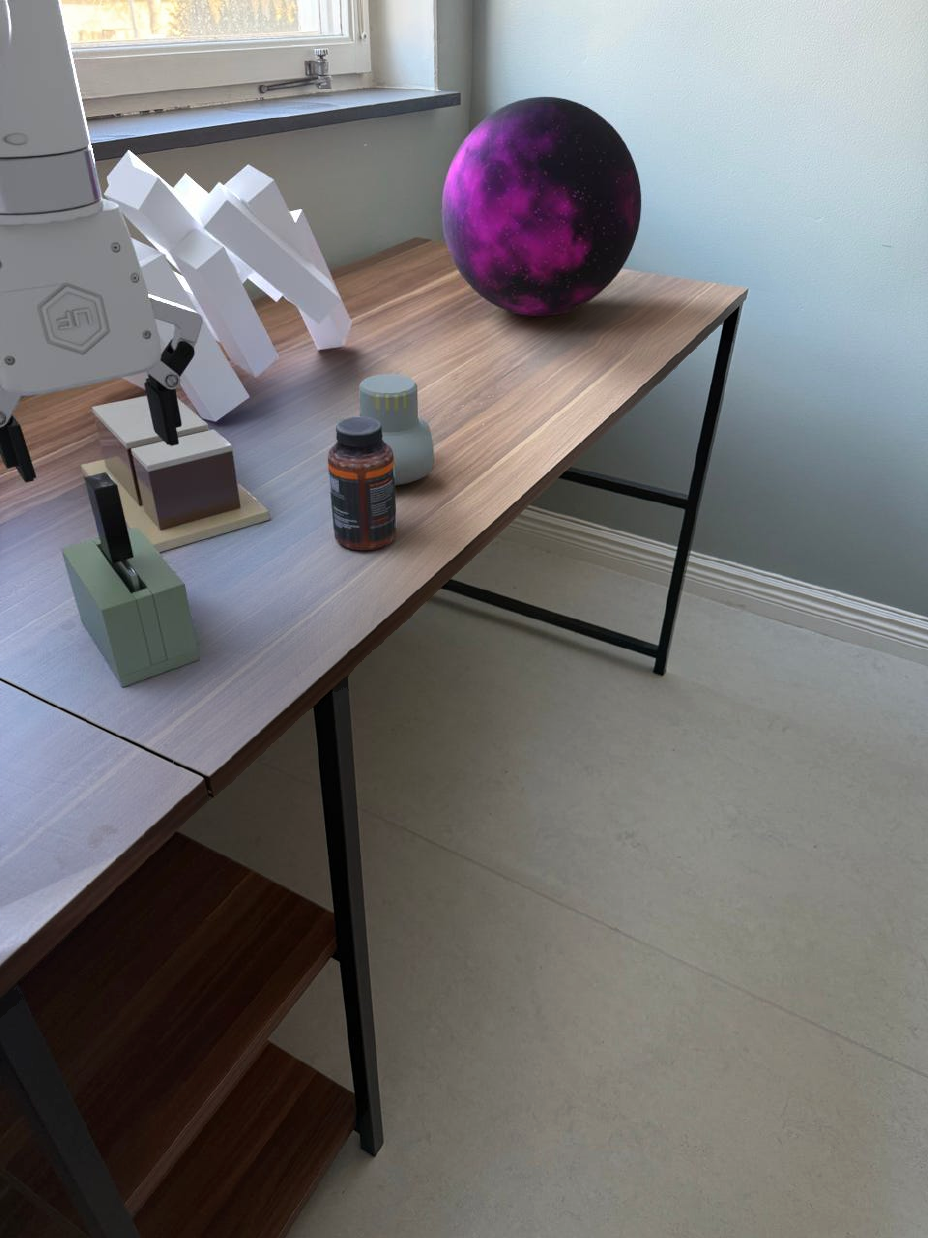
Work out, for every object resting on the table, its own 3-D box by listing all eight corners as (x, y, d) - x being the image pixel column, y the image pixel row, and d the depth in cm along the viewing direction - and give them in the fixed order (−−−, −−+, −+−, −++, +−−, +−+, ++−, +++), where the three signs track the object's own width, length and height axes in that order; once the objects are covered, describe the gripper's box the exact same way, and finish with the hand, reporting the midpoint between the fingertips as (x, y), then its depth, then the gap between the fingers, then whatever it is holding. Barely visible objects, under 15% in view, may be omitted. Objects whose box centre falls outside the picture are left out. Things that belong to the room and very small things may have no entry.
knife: (162, 649, 67) (128, 496, 60) (142, 656, 67) (104, 503, 59) (132, 605, 72) (96, 459, 64) (112, 612, 71) (73, 464, 64)
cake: (148, 555, 80) (132, 480, 76) (82, 473, 93) (65, 404, 89) (270, 519, 86) (261, 447, 82) (192, 446, 99) (180, 381, 95)
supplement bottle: (406, 528, 85) (404, 416, 79) (382, 558, 81) (377, 443, 74) (350, 517, 87) (343, 407, 80) (322, 546, 82) (312, 432, 75)
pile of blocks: (236, 358, 138) (76, 139, 114) (404, 297, 126) (266, 39, 102) (163, 516, 116) (-53, 287, 92) (357, 460, 105) (168, 182, 81)
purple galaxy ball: (420, 331, 133) (418, 102, 116) (463, 280, 157) (467, 83, 140) (619, 350, 128) (649, 113, 111) (633, 294, 152) (659, 92, 135)
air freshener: (436, 495, 91) (437, 401, 85) (356, 500, 90) (350, 406, 84) (422, 450, 100) (421, 362, 94) (348, 454, 98) (343, 366, 92)
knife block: (200, 659, 68) (185, 583, 64) (122, 688, 65) (101, 610, 61) (154, 598, 75) (138, 526, 71) (81, 622, 72) (60, 548, 68)
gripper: (-132, 213, 44) (-24, 513, 54) (198, 179, 53) (238, 444, 63) (-151, 188, 49) (-49, 467, 59) (153, 160, 57) (197, 409, 68)
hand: (98, 455), depth 61 cm, fingers open, 9 cm apart
